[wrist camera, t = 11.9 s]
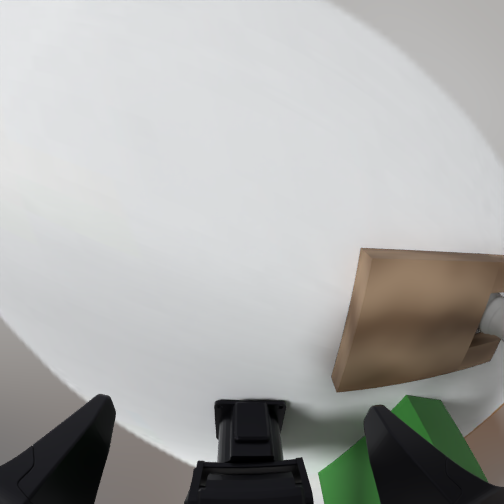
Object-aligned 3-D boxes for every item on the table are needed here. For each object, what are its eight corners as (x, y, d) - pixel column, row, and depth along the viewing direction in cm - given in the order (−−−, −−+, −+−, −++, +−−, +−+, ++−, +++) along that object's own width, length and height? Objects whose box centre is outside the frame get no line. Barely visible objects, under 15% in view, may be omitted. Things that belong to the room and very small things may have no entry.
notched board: (481, 351, 24) (490, 361, 22) (331, 376, 23) (336, 392, 21) (517, 255, 20) (529, 262, 18) (360, 247, 19) (372, 258, 17)
